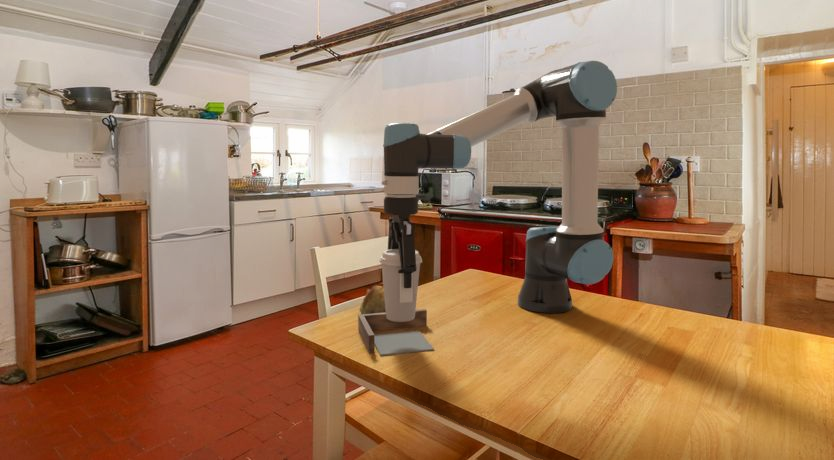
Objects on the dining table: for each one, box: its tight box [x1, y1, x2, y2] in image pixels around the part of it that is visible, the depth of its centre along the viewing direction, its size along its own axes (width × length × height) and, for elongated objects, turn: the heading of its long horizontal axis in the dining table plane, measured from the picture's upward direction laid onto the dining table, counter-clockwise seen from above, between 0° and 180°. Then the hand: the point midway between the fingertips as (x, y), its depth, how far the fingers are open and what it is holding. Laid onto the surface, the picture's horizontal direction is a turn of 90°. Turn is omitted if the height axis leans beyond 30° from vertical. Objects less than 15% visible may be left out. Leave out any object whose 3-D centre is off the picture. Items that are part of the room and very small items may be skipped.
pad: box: [374, 329, 435, 357], centre depth 108 cm, size 12×12×1 cm
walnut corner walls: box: [357, 308, 428, 354], centre depth 111 cm, size 17×15×4 cm
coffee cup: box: [379, 249, 423, 322], centre depth 106 cm, size 10×10×15 cm
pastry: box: [359, 285, 386, 314], centre depth 129 cm, size 14×12×8 cm
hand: (400, 295), depth 107 cm, fingers closed on coffee cup, 9 cm apart
